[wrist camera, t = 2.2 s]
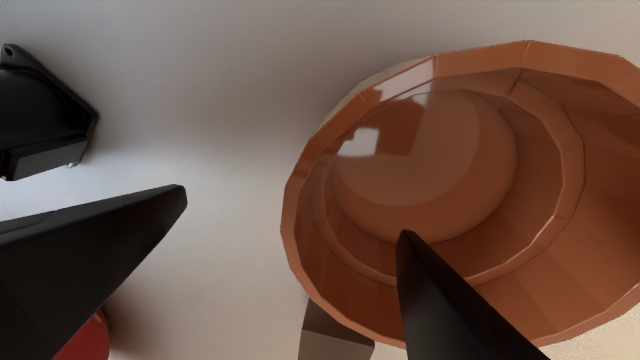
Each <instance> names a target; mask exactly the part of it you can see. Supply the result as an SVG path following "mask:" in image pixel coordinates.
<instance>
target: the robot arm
mask: <svg viewBox="0 0 640 360" xmlns="http://www.w3.org/2000/svg"><path fill="white" fill-rule="evenodd" d="M97 119H98V117H97V114H96V112H95V111H94V110H93V109H92V108H91V107H90V106H88V105H87V104H86V103H85V102H84V101H82V100H81V99H80V98H79V97H78V96H77V95H75V94H74V93H73V92H72V91H71V90H69V89H68V88H67V87H66V86H65V85H64V84H62V83H61V82H60V81H59V80H58V79H56V78H55V77H54V76H53V75H52V74H51V73H49V72H48V71H47V70H46V69H45V68H43V67H42V66H41V65H40V64H39V63H38V62H36V61H35V60H34V59H33V58H32V57H30V56H29V55H28V54H27V53H26V52H25V51H23V50H22V49H21V48H20V47H19V46H17V45H15V44H3V45H2V49H1V55H0V178H3V179H4V180H5V181H16V180H19V179H22V178H25V177H29V176H32V175H35V174H38V173H41V172H44V171H47V170H51V169H54V168H57V167H60V166H63V165H64V166H65V167H67V168H72V167H75V166H77V165H78V162H79V160H80V158H81V156H82V154H83V151H84V149H85V147H86V144H87V142H88V140H89V137H90V135H91V133H92V131H93V128H94V126H95V124H96V122H97ZM187 204H188V202H187V196H186V190H185V188H184V186H181V185H176V184H171V185H167V186H162V187H158V188H153V189H149V190H144V191H140V192H135V193H131V194H126V195H122V196H117V197H113V198H108V199H103V200H99V201H94V202H90V203H85V204H81V205H76V206H72V207H67V208H63V209H58V210H57V211H55V210H54V211H49V212H45V213H40V214H35V215H31V216H26V217H21V218H17V219H12V220H7V221H2V222H0V360H53V359H54V358H55V356H56V354H58V353H59V352H60V351H61V350H62V348H63V347H64V346H65V345H66V344H67V343H68V342H69V341H70V340H71V339H72V338H73V336H74V335H75V334H76V333H77V332H78V331H79V330H80V329H81V328H82V327H83V326H84V324H85V323H86V322H87V321H88V320H89V319H90V318H91V317H92V316H93V315H94V313H95V312H96V311H97V310H98V309H99V308H100V307H101V306H102V305H103V304H104V303H105V301H106V300H107V299H108V298H109V297H110V296H111V295H112V294H113V293H114V292H115V291H116V289H117V288H118V287H119V286H120V285H121V284H122V283H123V282H124V281H125V280H126V278H127V277H128V276H129V275H130V274H131V273H132V272H133V271H134V270H135V269H136V268H137V266H138V265H139V264H140V263H141V262H142V261H143V260H144V259H145V258H146V257H147V255H148V254H149V253H150V252H151V251H152V250H153V249H154V248H155V247H156V246H157V245H158V243H159V242H160V241H161V240H162V239H163V238H164V237H165V235H166V234H167V233H168V232H169V230H170V229H171V228H172V226H173V225H174V224H175V222H176V221H177V220H178V218H179V217H180V216H181V214H182V213H183V212H184V210H185V209H186V207H187ZM395 254H396V279H397V292H398V299H399V305H400V311H401V317H402V324H403V330H404V336H405V343H406V349H407V355H408V360H551V359H549V358H548V357H547V356H546V355H545V354H544V353H542V352H541V351H540V350H539V349H538V348H537V347H536V346H535V345H533V344H532V343H531V342H530V341H529V340H528V339H527V338H526V337H524V336H523V335H522V334H521V333H520V332H519V331H518V330H517V329H516V328H515V327H514V326H512V325H511V324H510V323H509V322H508V321H507V320H506V319H505V318H504V317H503V316H502V315H501V314H500V313H499V312H498V311H497V310H496V309H495V308H494V307H493V306H489V303H488V302H487V301H486V300H485V299H484V298H483V297H482V296H481V295H480V294H479V293H478V292H477V291H476V290H475V289H474V288H473V287H472V286H471V285H470V284H469V283H467V282H466V281H465V280H464V279H463V278H462V277H461V276H460V275H459V274H458V273H457V272H456V271H455V270H454V269H453V268H452V267H451V266H450V265H449V264H448V263H447V262H446V261H445V260H444V259H443V258H442V257H441V256H439V255H438V254H437V253H436V252H435V251H434V250H433V249H432V248H431V247H430V246H429V245H428V244H427V243H426V242H425V241H424V240H423V239H422V238H421V237H420V236H419V235H418V234H417V233H416V232H414V231H413V230H407V229H403V230H402V231H401V233H400V236H399V239H398V241H397V244H396V249H395Z"/></svg>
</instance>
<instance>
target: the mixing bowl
mask: <svg viewBox="0 0 640 360" xmlns="http://www.w3.org/2000/svg"><path fill="white" fill-rule="evenodd" d="M109 348H110V341H109V334H108V322H107V319H106V317H105V316H104V314H103V312H102V311H101V310H100V308H99V309H98V310H97V311H96V312H95V313H94V315H93V316H92V317H91V318H90V319H89V320H88V321H87V322H86V323H85V324H84V326H83V327H82V328H81V329H80V330H79V331H78V332H77V333H76V334H75V335H74V336H73V338H72V339H71V340H70V341H69V342H68V343H67V344H66V345H65V346H64V347H63V348H62V350H61V351H60V352H59V353H58V354H56V356H55V358H54V359H53V360H108V356H109Z"/></svg>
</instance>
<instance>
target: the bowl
mask: <svg viewBox="0 0 640 360" xmlns="http://www.w3.org/2000/svg"><path fill="white" fill-rule="evenodd" d="M403 229H407V230H413V231H414V232H416V233H417V234H418V235H419V236H420V237H421V238H422V239H423V240H424V241H425V242H426V243H427V244H428V245H429V246H430V247H431V248H432V249H433V250H434V251H435V252H436V253H437V254H438V255H439V256H441V257H442V258H443V259H444V260H445V261H446V262H447V263H448V264H449V265H450V266H451V267H452V268H453V269H454V270H455V271H456V272H457V273H458V274H459V275H460V276H461V277H462V278H463V279H464V280H465V281H466V282H467V283H469V284H470V285H471V286H472V287H473V288H474V289H475V290H476V291H477V292H478V293H479V294H480V295H481V296H482V297H483V298H484V299H485V300H486V301H487V302H488V303H489V306H493V307H494V308H495V309H496V310H497V311H498V312H499V313H500V314H501V315H502V316H503V317H504V318H505V319H506V320H507V321H508V322H509V323H510V324H511V325H512V326H514V327H515V328H516V329H517V330H518V331H519V332H520V333H521V334H522V335H523V336H524V337H526V338H527V339H528V340H529V341H530V342H531V343H532V344H533V345H535V346H536V347H537V348H538V347H542V346H546V345H550V344H555V343H559V342H563V341H566V339H567V340H570V339H572V338H574V337H576V336H579V335H581V334H583V333H585V332H587V331H590V330H592V329H594V328H596V327H598V326H600V325H603V324H605V323H607V322H609V321H611V320H614V319H616V318H618V317H620V316H621V315H624V314H625V313H626V312H627V311H629V310H630V309H631V308H633V307H634V306H635V305H636V304H638V303H639V302H640V68H638V67H637V66H635V65H634V64H632V63H631V62H629V61H628V60H626V59H625V58H623V57H620V56H619V55H615V54H610V53H604V52H598V51H592V50H586V49H581V48H575V47H569V46H563V45H557V44H552V43H546V42H540V41H534V40H522V41H516V42H510V43H504V44H497V45H491V46H485V47H479V48H472V49H466V50H460V51H454V52H447V53H441V54H436V55H431V56H426V57H421V58H417V59H412V60H407V61H403V62H399V63H397V64H395V65H393V66H391V67H389V68H387V69H385V70H383V71H381V72H379V73H377V74H375V75H373V76H371V77H369V78H367V79H365V80H363V81H361V83H358V84H357V85H356V86H355V87H354V88H353V89H352V90H351V91H350V92H349V93H348V94H347V95H346V96H345V97H344V98H343V99H342V100H341V101H340V102H339V103H338V104H337V105H336V106H335V107H334V108H333V109H332V110H331V111H330V113H329V114H328V115H327V117H326V118H325V119H324V121H323V122H322V123H321V124H320V126H319V127H318V128H317V130H316V131H315V132H314V134H313V135H312V136H311V138H310V139H309V140H308V142H307V144H306V146H305V148H304V150H303V152H302V154H301V156H300V158H299V160H298V162H297V164H296V165H295V167H294V169H293V171H292V173H291V175H290V177H289V179H288V181H287V183H286V186H285V189H284V198H283V207H282V216H281V225H280V233H281V237H282V240H283V244H284V248H285V252H286V255H287V259H288V263H289V267H290V269H291V271H292V272H293V273H294V275H295V276H296V278H297V279H298V281H299V282H300V284H301V285H302V287H303V288H304V290H305V291H306V293H307V294H308V296H309V297H310V298H311V299H312V300H313V301H314V302H315V303H316V304H318V305H319V306H320V307H321V308H322V309H324V310H325V311H326V312H327V313H328V314H330V315H331V316H332V317H333V318H334V319H335V320H337V321H338V322H339V323H341V324H342V325H344V326H346V327H348V328H350V329H352V330H354V331H356V332H358V333H360V334H362V335H364V336H366V337H368V338H370V339H372V340H374V341H377V342H380V343H384V344H387V345H391V346H395V347H398V348H402V349H405V350H407V349H406V343H405V336H404V330H403V324H402V317H401V311H400V305H399V299H398V292H397V279H396V254H395V249H396V244H397V241H398V239H399V236H400V233H401V231H402V230H403Z"/></svg>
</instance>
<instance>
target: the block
mask: <svg viewBox="0 0 640 360" xmlns="http://www.w3.org/2000/svg"><path fill="white" fill-rule="evenodd" d="M374 348H375V341H374V340H372V339H370V338H368V337H366V336H364V335H362V334H360V333H358V332H356V331H354V330H352V329H350V328H348V327H346V326H344V325H342V324H341V323H339V322H338V321H337V320H335V319H334V318H333V317H332V316H331V315H330V314H328V313H327V312H326V311H325V310H324V309H322V308H321V307H320V306H319V305H318V304H316V303H315V302H314V301H313V300H312V299H311V298H310V297H309V300H308V304H307V309H306V313H305V317H304V322H303V326H302V331H301V338H300V346H299V353H298V360H370V358H371V356H372V353H373V351H374Z"/></svg>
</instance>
